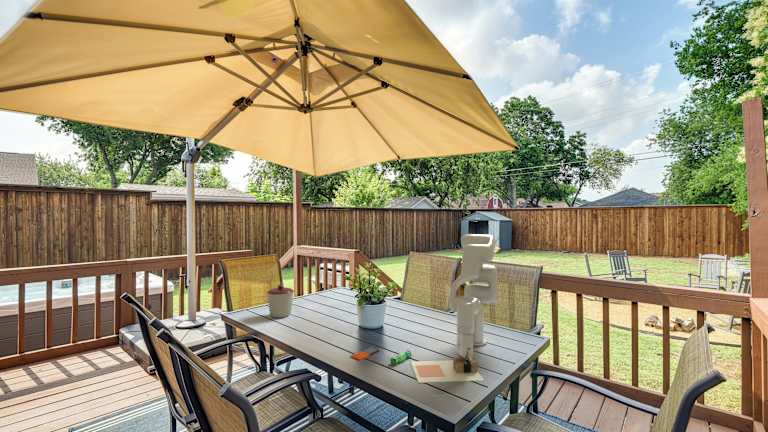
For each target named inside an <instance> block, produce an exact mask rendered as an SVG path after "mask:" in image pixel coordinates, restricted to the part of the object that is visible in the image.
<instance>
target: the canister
mask: <svg viewBox="0 0 768 432" xmlns="http://www.w3.org/2000/svg"><path fill="white" fill-rule="evenodd" d="M294 292H295V290H294V289H293V288H290V287H284V285H283V284H278V285H277V287H275V288H274V287H273V288H271V289H269V290H268V291H266V292H265V293H266V295H267V302H268V310H269V315H270V316H271V317H272V318H275V319H276V318H277V319H282V318H287V317H289V316H290V315H291V313H292V309H293V308H292V307H293V299H294Z"/></svg>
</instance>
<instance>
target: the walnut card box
mask: <svg viewBox="0 0 768 432" xmlns="http://www.w3.org/2000/svg"><path fill="white" fill-rule="evenodd" d="M467 359H468V358H466V360H467ZM452 360H453V367H454V369H455V370H456V372H457V373H464V363H465V361H464V357H460V356H453V359H452ZM477 371H478V361H477V360H476V359H475V357H473V356H472V364H471V373H475V372H477Z"/></svg>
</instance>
